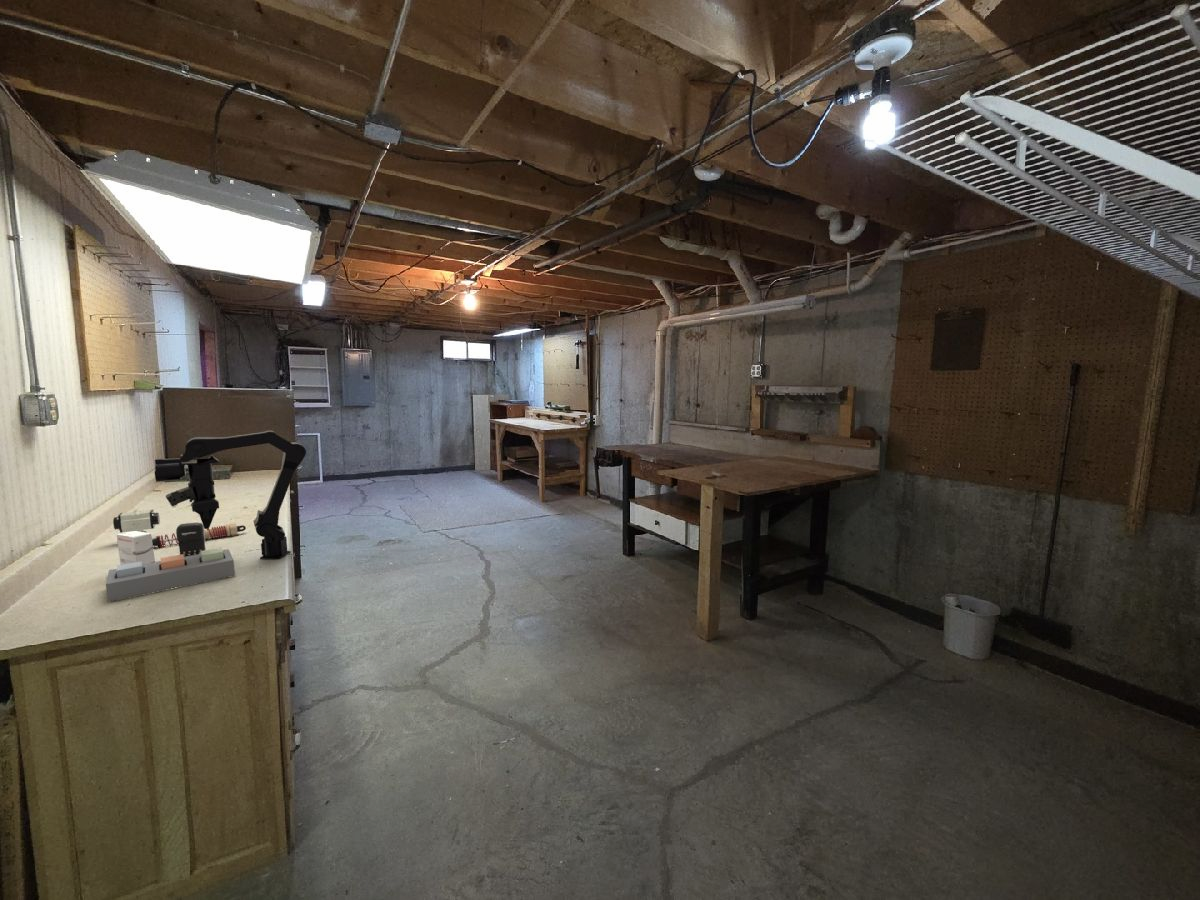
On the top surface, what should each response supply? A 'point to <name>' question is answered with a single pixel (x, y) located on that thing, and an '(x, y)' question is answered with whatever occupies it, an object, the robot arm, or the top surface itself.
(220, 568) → the button panel
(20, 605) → the top surface
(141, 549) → the ink box
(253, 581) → the top surface
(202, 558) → the sage button
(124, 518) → the pneumatic valve
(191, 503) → the robot arm
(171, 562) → the terracotta button
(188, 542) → the battery charger
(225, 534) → the shock absorber
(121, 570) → the slate button
